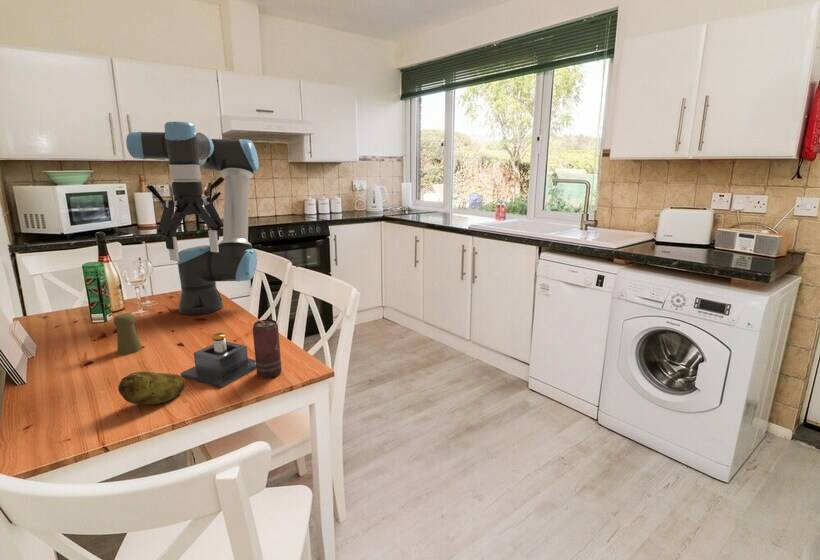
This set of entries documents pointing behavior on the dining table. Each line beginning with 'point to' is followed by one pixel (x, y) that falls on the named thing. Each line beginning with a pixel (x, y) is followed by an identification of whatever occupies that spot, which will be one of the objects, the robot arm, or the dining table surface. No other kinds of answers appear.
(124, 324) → the cork
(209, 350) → the grey open square box
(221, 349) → the post
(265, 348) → the can
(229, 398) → the dining table surface
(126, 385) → the green avocado
